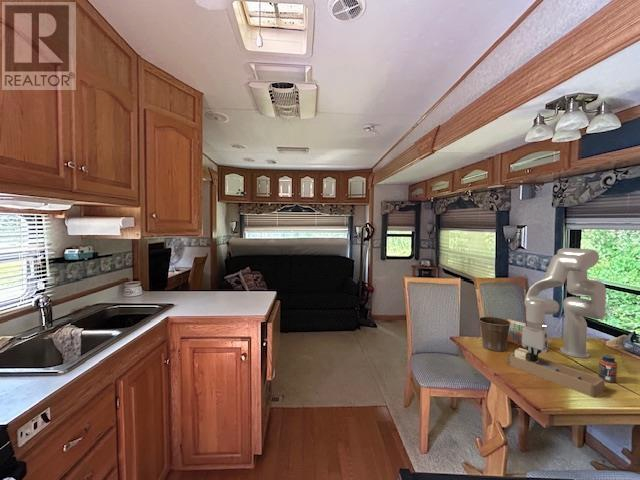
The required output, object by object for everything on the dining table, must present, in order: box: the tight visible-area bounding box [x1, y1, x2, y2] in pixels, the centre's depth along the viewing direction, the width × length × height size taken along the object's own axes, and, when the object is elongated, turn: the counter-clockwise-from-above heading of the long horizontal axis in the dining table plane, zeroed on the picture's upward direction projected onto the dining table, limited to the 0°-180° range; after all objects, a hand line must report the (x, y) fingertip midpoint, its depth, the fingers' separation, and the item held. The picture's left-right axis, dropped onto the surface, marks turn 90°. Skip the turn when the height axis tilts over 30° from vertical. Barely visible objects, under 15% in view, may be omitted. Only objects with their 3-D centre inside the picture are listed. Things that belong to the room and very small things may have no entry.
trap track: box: [507, 352, 606, 398], centre depth 143 cm, size 11×34×5 cm, turn 31°
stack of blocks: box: [507, 318, 535, 350], centre depth 180 cm, size 21×6×12 cm, turn 28°
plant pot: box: [478, 316, 511, 352], centre depth 176 cm, size 16×16×16 cm
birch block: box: [514, 347, 530, 361], centre depth 153 cm, size 5×5×5 cm
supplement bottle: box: [598, 354, 618, 384], centre depth 139 cm, size 6×6×11 cm
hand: (533, 361), depth 149 cm, fingers closed
